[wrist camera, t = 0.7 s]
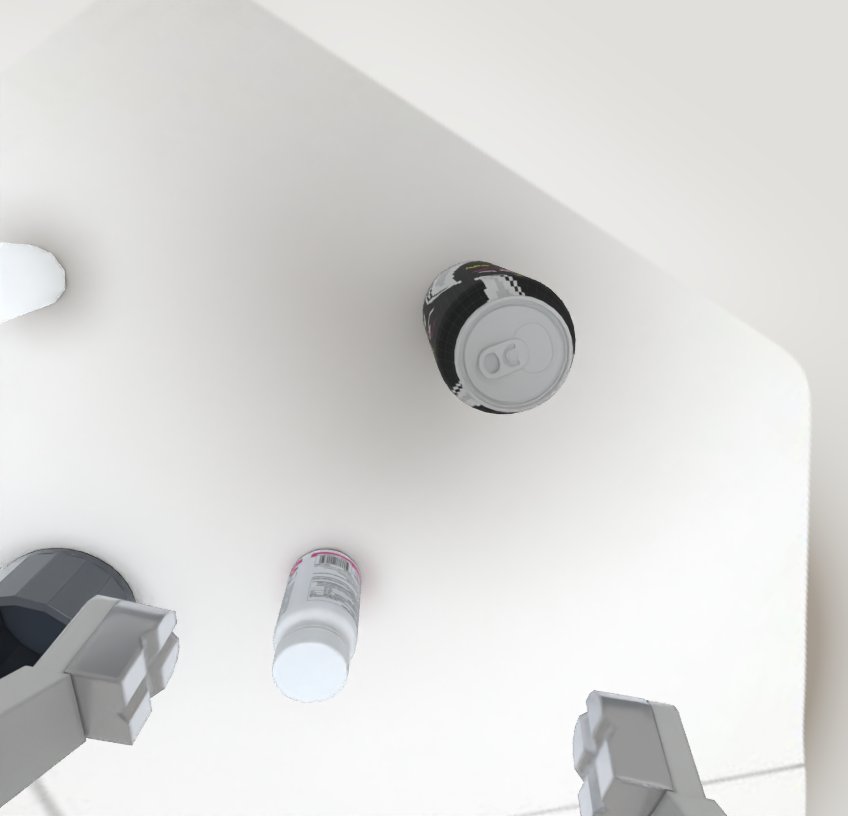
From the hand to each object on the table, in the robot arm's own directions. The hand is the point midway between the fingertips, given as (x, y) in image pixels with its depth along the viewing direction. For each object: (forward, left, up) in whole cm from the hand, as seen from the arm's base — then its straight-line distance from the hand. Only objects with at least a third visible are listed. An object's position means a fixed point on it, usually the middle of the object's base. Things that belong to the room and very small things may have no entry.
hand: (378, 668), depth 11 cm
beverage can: (-1, +6, -24) cm, 25 cm away
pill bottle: (+11, -10, -24) cm, 28 cm away
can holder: (+5, -26, -24) cm, 36 cm away
